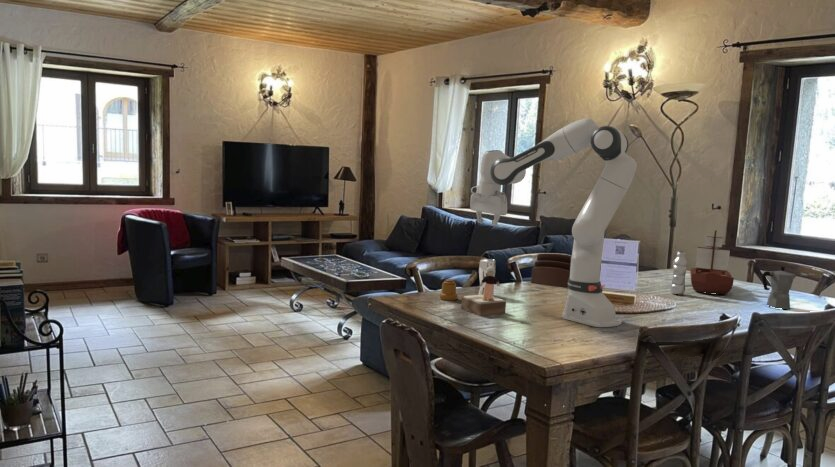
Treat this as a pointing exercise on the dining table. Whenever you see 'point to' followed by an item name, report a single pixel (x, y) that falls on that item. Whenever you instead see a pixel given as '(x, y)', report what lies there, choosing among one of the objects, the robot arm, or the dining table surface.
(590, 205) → the robot arm
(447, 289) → the ornamental finial
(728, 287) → the sailing ship
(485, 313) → the plinth
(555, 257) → the letter holder
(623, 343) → the dining table surface
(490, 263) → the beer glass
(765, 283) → the coffeepot
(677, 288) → the plastic bottle
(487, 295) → the grandmother figurine
